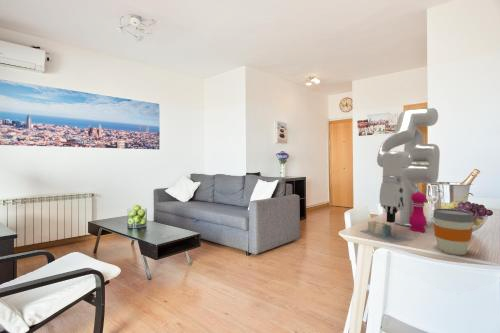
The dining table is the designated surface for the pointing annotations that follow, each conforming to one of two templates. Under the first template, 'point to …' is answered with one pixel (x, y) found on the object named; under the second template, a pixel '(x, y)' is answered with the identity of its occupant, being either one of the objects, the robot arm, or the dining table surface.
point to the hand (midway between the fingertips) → (390, 221)
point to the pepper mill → (418, 212)
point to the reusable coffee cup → (453, 230)
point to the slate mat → (388, 237)
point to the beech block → (379, 228)
